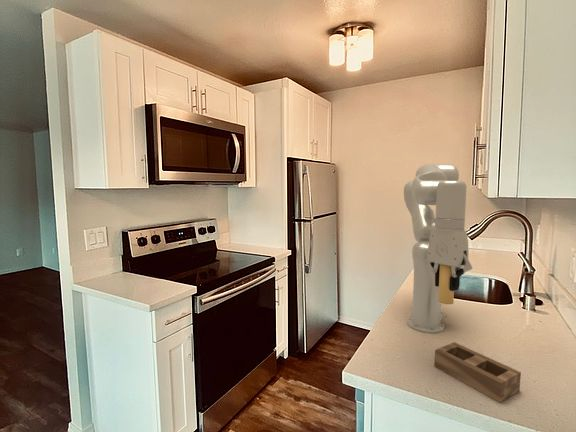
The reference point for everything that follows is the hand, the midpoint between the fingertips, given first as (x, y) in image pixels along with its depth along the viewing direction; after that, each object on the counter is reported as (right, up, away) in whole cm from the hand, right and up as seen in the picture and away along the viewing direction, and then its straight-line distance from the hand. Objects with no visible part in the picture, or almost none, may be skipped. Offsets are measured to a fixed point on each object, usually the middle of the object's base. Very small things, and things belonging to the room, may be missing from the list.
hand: (446, 287), depth 95 cm
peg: (0, -4, 0) cm, 4 cm away
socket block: (+5, -23, -5) cm, 25 cm away
